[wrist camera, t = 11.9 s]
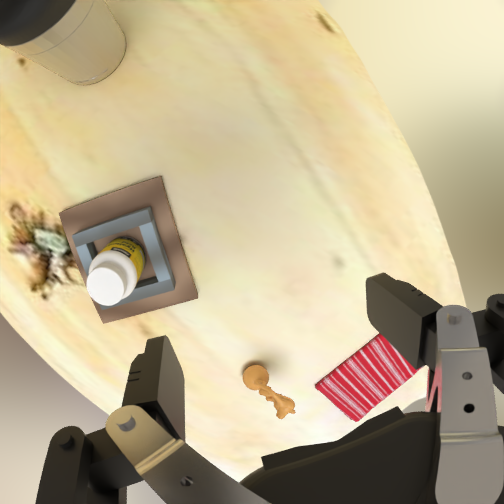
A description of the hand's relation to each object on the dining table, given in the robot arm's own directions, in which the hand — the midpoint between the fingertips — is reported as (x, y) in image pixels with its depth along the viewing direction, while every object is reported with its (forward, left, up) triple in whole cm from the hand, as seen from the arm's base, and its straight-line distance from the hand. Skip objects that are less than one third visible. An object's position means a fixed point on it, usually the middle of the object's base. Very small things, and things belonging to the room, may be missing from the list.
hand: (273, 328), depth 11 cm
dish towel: (+36, +21, -29) cm, 51 cm away
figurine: (+25, -1, -28) cm, 38 cm away
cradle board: (+2, -13, -28) cm, 31 cm away
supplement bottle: (+2, -13, -27) cm, 30 cm away
